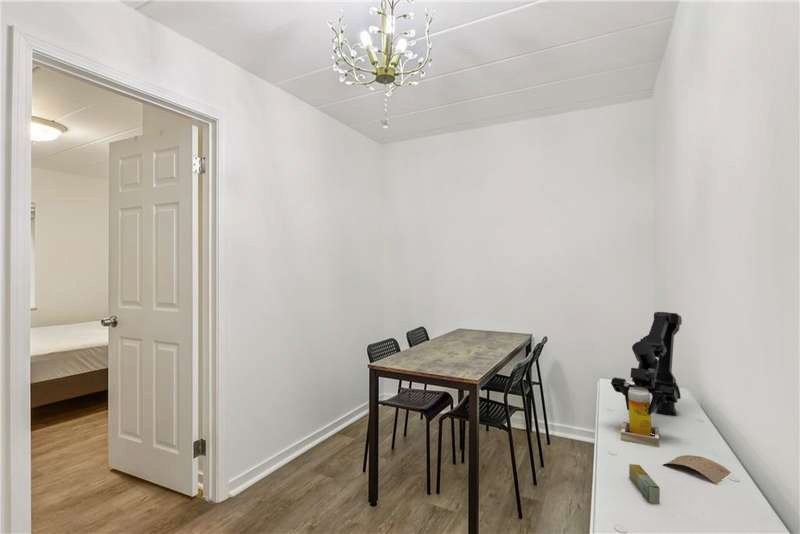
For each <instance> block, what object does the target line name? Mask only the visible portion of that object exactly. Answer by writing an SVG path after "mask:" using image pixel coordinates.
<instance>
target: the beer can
mask: <svg viewBox="0 0 800 534" xmlns="http://www.w3.org/2000/svg"><path fill="white" fill-rule="evenodd" d="M650 394H651V393H649V392H648V390H647V389H645V388H641V387H630V388H629V391H628V399H629V410H628V415H629V416H628V419H629V422H628V423H629V424H630V431H629V433H634V434H639V435H645V436H652V435H651V426H652V423H651V422H652V420H651V419H652V418H651V417H652V415H649V414H648V411H649V407H650V403H651V396H650Z"/></svg>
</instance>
